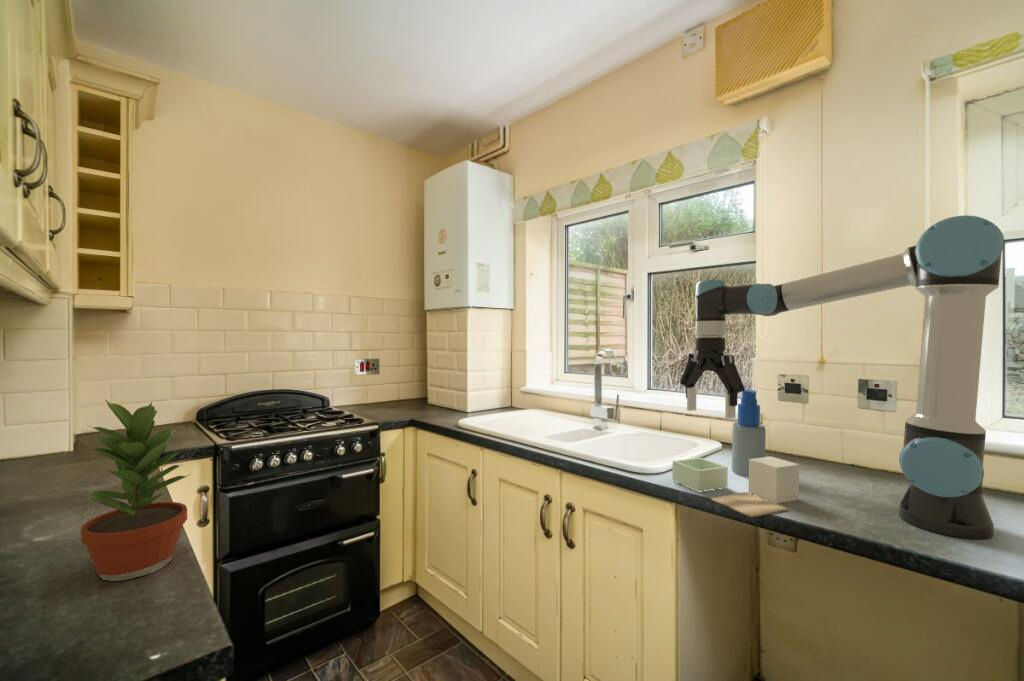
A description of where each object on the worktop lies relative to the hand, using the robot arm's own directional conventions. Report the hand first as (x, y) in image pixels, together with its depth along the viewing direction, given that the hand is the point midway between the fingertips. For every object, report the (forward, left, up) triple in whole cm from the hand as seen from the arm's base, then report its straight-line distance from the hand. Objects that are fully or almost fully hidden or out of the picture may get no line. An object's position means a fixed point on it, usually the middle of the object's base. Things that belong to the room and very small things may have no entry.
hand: (710, 414), depth 124 cm
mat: (-14, +2, -20) cm, 24 cm away
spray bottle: (+5, -20, -20) cm, 29 cm away
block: (-12, -9, -20) cm, 25 cm away
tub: (+2, +2, -20) cm, 20 cm away
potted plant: (+4, +129, -20) cm, 130 cm away
